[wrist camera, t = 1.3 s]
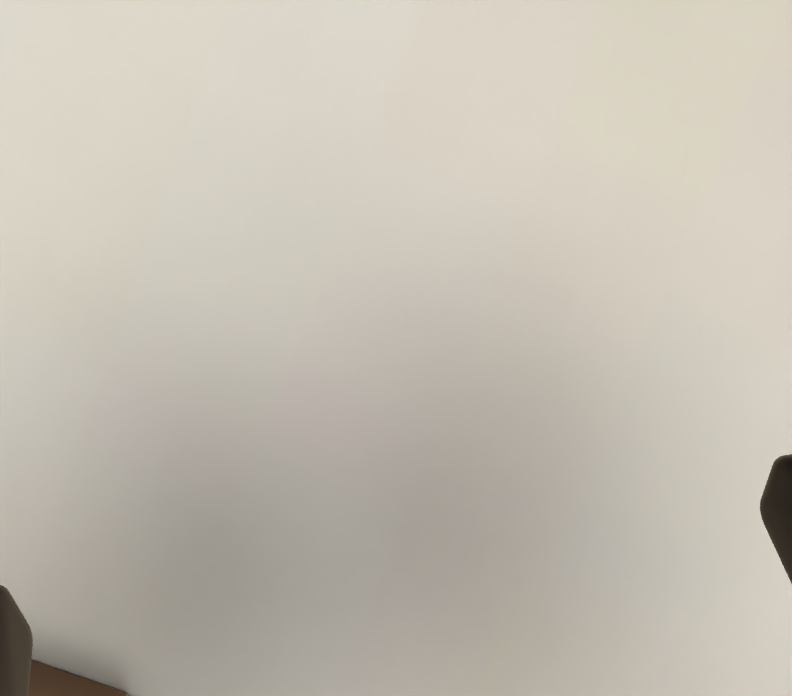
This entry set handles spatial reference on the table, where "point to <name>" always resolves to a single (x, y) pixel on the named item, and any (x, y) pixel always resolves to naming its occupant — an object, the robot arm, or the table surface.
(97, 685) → the desk shelf
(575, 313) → the table surface
